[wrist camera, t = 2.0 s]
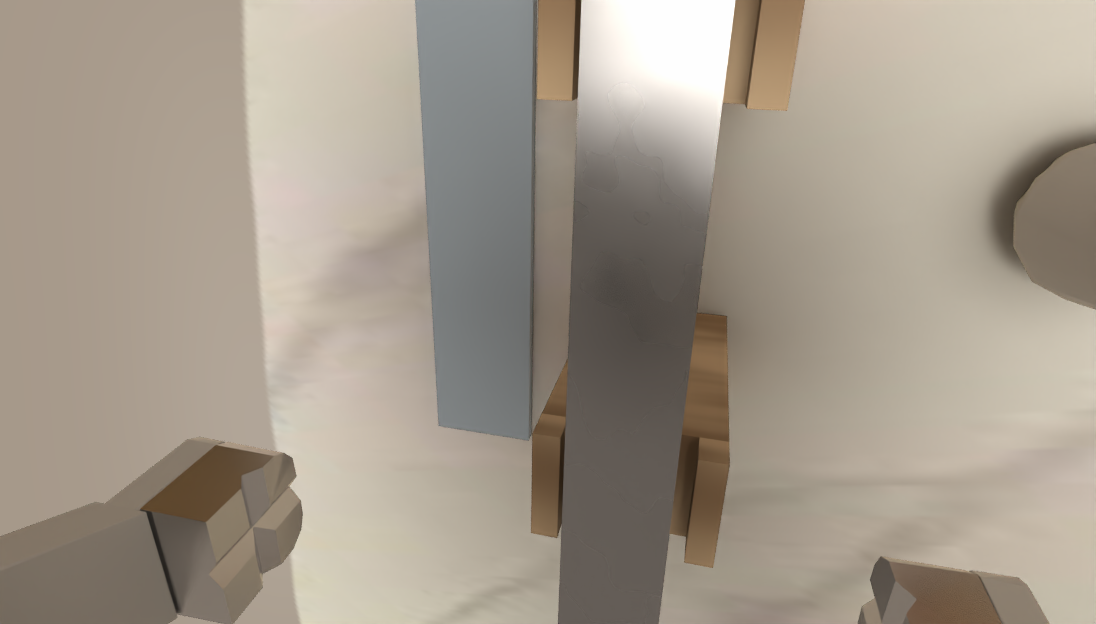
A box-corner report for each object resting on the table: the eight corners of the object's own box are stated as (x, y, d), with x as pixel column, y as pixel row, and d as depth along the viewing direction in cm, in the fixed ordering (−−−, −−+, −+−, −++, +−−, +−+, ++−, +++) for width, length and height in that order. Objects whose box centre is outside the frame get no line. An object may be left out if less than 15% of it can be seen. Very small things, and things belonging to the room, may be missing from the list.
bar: (662, 577, 23) (653, 663, 20) (578, 560, 23) (557, 641, 20) (755, -187, 14) (766, -251, 11) (618, -181, 15) (590, -239, 12)
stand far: (715, 393, 31) (713, 568, 21) (590, 376, 32) (531, 532, 22) (726, 316, 29) (729, 464, 19) (594, 301, 30) (532, 433, 20)
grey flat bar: (531, 435, 34) (528, 440, 34) (442, 421, 35) (438, 425, 35) (538, -161, 24) (535, -165, 23) (412, -156, 25) (406, -159, 24)
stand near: (760, 79, 25) (786, 110, 15) (607, 74, 26) (536, 99, 16) (777, -38, 23) (819, -91, 13) (613, -38, 25) (539, -86, 15)
